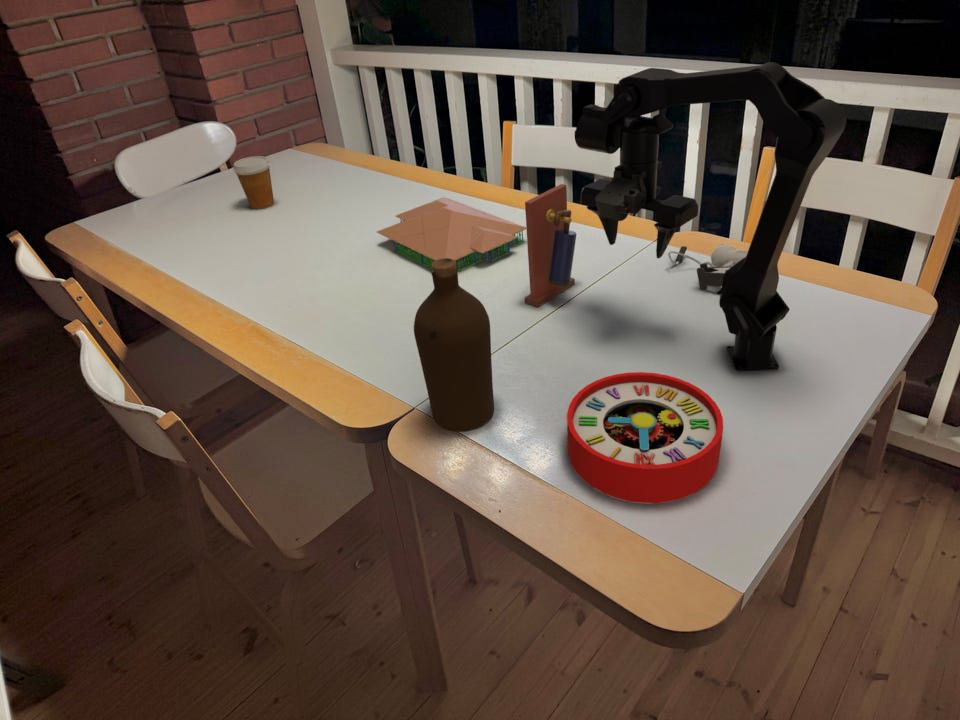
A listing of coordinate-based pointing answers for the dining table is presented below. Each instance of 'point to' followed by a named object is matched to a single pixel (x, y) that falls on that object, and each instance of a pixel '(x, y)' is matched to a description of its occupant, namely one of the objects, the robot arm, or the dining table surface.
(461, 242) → the house
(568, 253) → the navy blue cylinder
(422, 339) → the olive oil
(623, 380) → the toy clock
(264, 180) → the glass of beer
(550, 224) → the red upright board
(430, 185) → the dining table surface
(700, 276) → the clip-on lamp
